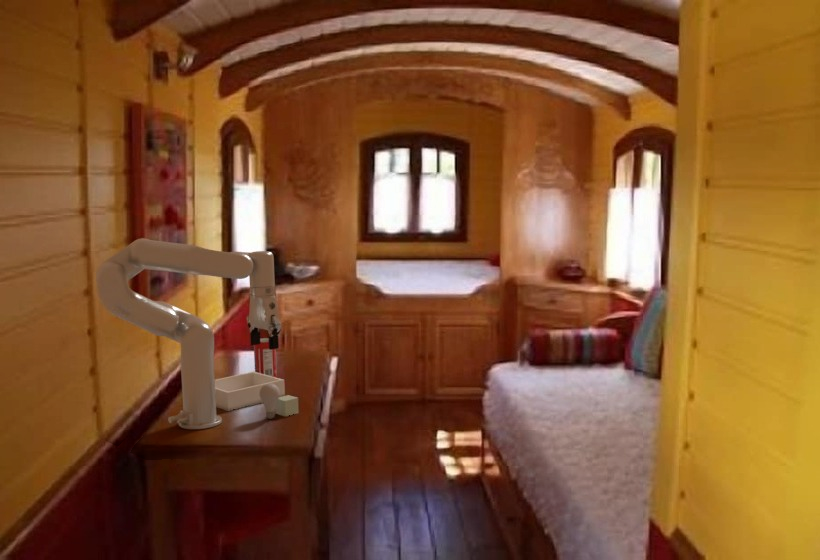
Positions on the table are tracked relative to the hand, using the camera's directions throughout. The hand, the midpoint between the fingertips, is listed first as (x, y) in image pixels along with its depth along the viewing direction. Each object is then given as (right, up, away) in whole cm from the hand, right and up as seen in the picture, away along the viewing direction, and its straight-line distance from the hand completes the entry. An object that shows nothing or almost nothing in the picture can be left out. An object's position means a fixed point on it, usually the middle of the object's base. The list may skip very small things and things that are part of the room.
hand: (264, 346), depth 243 cm
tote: (-11, -19, +21) cm, 31 cm away
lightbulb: (+2, -22, -2) cm, 22 cm away
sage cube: (+6, -21, +3) cm, 22 cm away
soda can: (-8, -16, +47) cm, 50 cm away
